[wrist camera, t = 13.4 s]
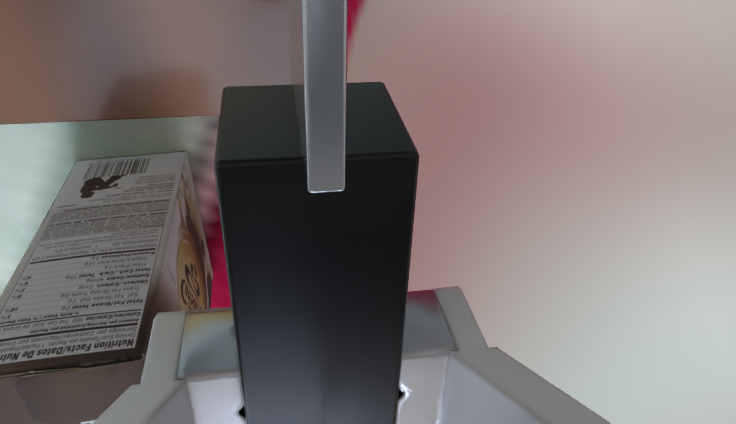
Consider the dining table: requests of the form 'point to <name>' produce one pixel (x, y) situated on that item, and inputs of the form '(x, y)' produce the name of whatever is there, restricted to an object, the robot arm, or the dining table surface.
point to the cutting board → (135, 56)
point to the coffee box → (100, 287)
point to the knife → (317, 232)
